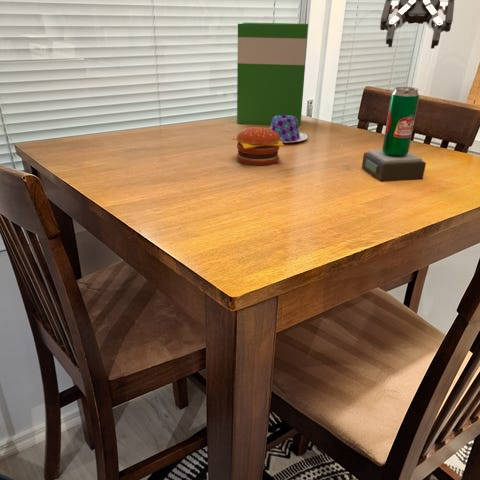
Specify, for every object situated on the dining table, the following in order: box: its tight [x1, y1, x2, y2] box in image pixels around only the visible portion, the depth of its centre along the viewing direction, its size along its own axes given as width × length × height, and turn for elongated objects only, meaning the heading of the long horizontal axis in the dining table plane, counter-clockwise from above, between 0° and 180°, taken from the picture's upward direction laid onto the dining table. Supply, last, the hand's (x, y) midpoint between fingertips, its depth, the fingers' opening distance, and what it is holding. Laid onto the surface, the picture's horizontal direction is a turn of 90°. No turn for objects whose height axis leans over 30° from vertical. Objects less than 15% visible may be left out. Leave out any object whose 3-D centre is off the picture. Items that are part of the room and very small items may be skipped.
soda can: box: [381, 86, 420, 157], centre depth 95 cm, size 5×5×12 cm
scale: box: [361, 149, 427, 182], centre depth 100 cm, size 9×9×4 cm
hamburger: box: [232, 126, 285, 166], centre depth 106 cm, size 9×10×7 cm
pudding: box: [269, 115, 309, 144], centre depth 122 cm, size 12×12×5 cm
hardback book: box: [236, 21, 309, 127], centre depth 134 cm, size 18×7×24 cm, turn 82°
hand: (411, 45), depth 102 cm, fingers open, 8 cm apart
